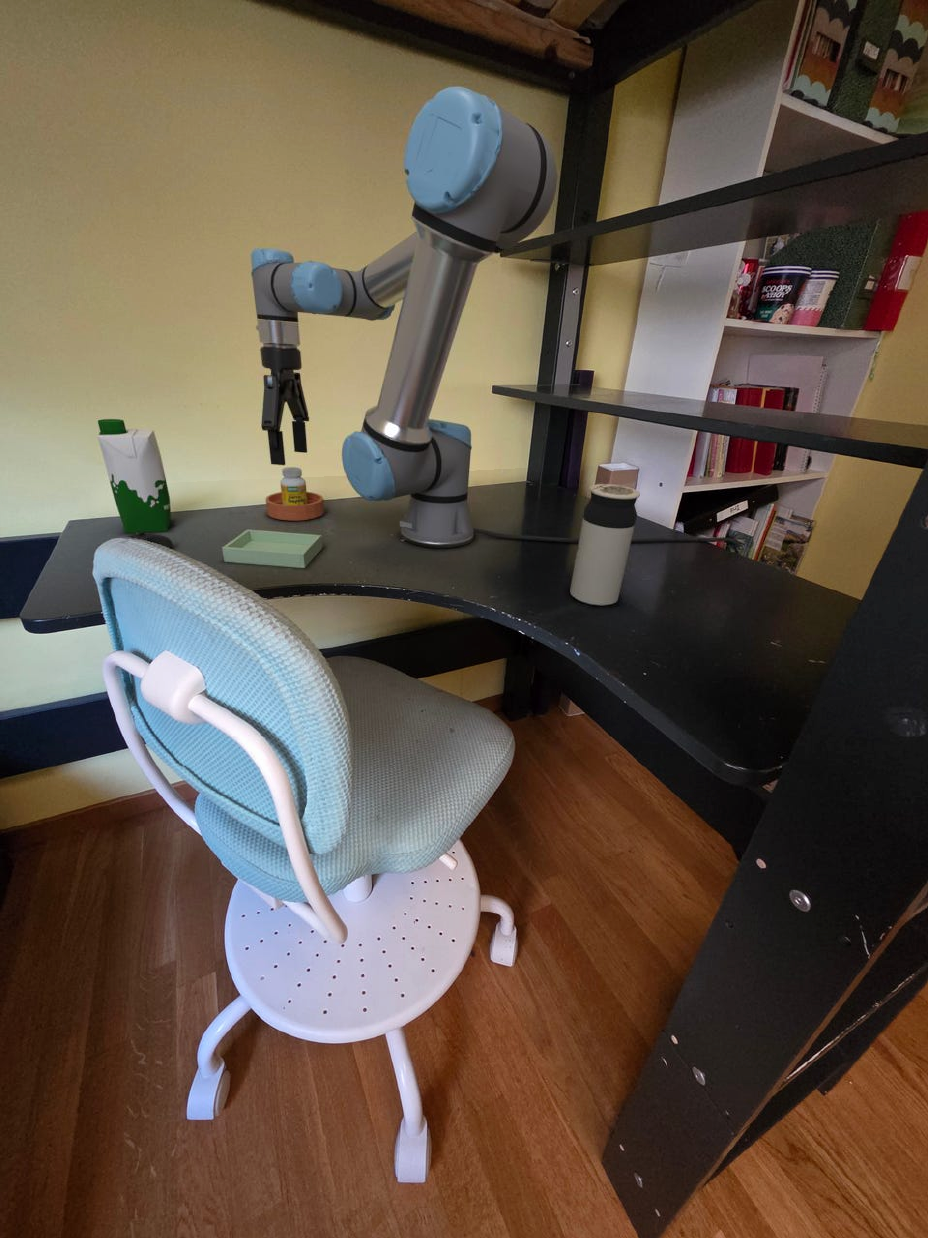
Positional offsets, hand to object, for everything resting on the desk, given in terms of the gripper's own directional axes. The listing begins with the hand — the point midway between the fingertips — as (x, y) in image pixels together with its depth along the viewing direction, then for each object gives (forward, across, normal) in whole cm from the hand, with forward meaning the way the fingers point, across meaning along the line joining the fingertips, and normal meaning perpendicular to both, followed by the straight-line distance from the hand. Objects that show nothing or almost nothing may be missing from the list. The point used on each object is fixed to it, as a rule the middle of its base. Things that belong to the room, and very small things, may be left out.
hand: (290, 458), depth 110 cm
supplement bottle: (+12, 0, 0) cm, 12 cm away
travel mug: (+12, +32, +62) cm, 71 cm away
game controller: (+12, +30, -17) cm, 37 cm away
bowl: (+12, 0, 0) cm, 12 cm away
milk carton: (+12, +16, -24) cm, 31 cm away
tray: (+12, +25, +5) cm, 28 cm away
